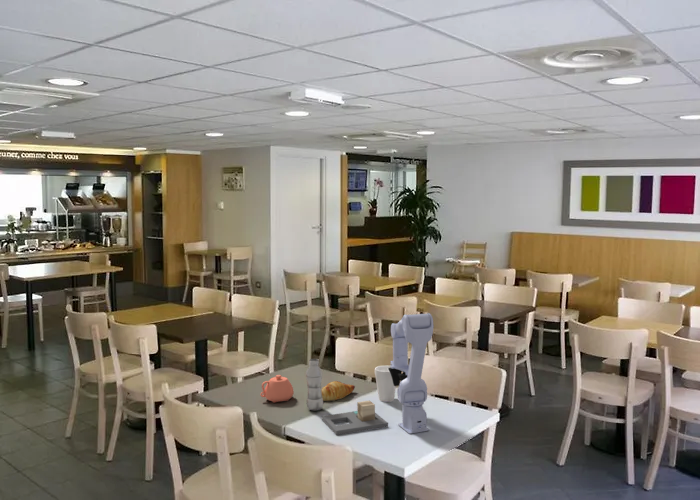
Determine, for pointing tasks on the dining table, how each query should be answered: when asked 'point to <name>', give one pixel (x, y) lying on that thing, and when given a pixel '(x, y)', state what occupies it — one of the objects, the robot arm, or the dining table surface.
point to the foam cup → (384, 384)
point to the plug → (366, 411)
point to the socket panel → (352, 423)
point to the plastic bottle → (314, 385)
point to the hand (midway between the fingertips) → (400, 388)
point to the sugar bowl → (277, 389)
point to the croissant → (336, 390)
